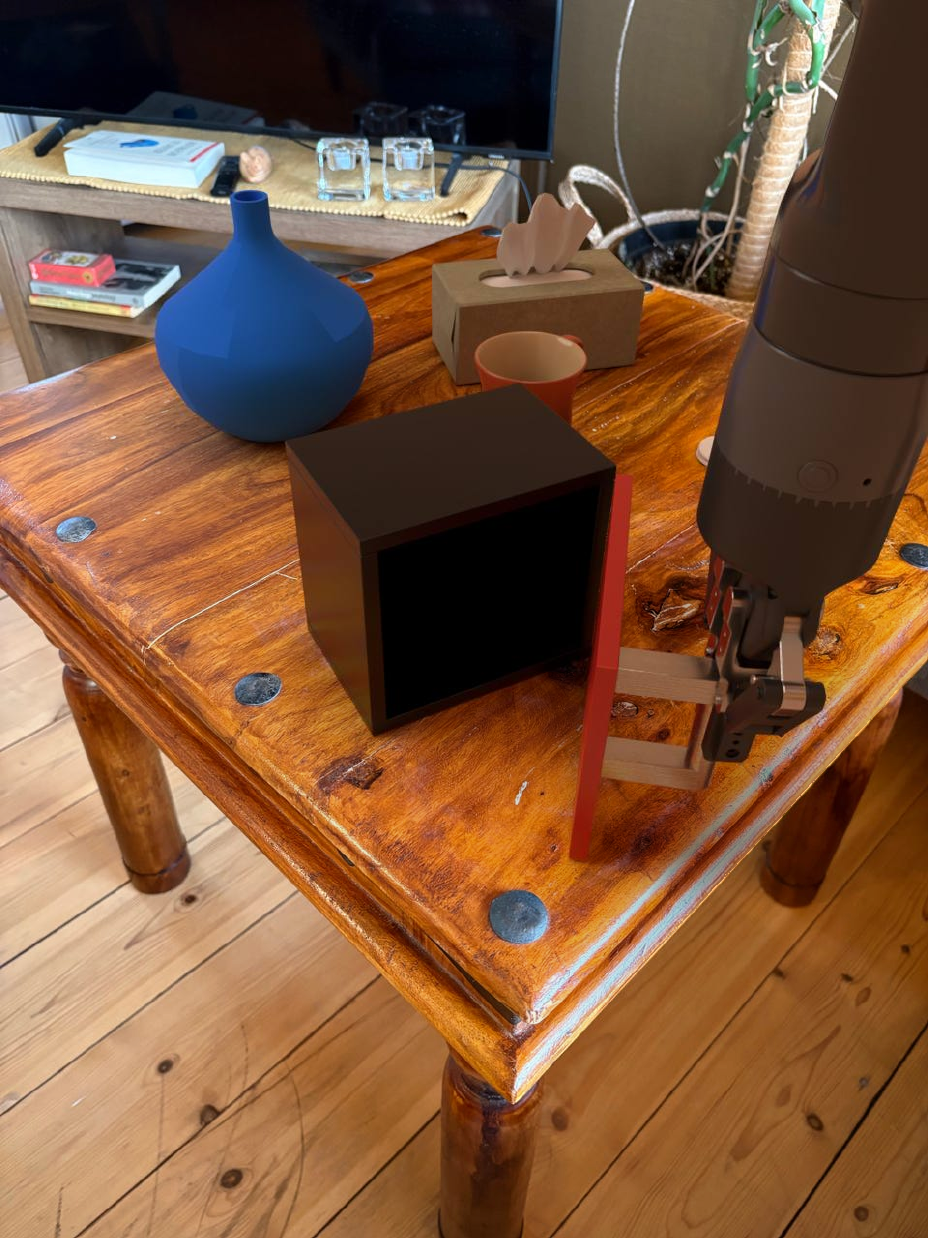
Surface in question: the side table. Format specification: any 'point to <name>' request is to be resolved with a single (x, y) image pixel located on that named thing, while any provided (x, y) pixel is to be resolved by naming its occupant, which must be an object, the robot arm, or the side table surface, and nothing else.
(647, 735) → the side table surface
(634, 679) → the door
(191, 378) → the vase
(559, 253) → the tissue box
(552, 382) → the mug
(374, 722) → the dark brown cabinet
